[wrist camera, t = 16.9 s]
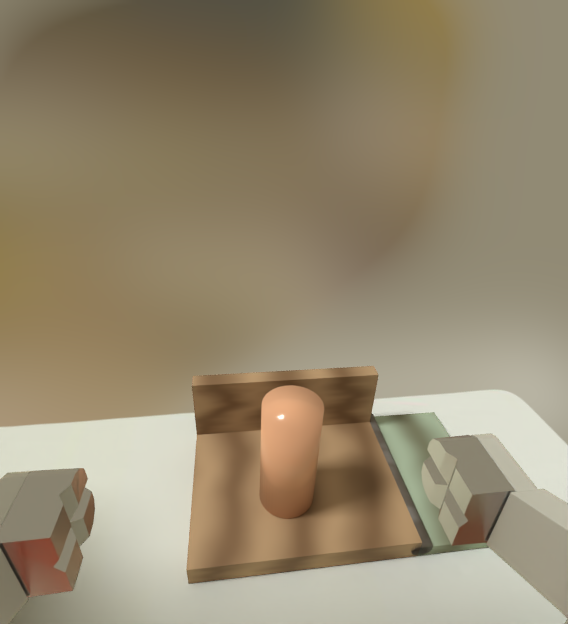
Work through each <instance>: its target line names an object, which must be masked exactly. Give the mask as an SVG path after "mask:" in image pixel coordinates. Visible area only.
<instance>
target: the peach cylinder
mask: <svg viewBox="0 0 568 624" xmlns="http://www.w3.org/2000/svg"><path fill="white" fill-rule="evenodd" d="M323 415H324V404H323V401H322V400H321V398H320V397H319V396H318V395H317V394H316V393H315V392H313V391H311V390H309V389H307V388H304V387H301V386H294V385H287V386H281V387H277V388H275V389H273V390H271V391H269V392H268V393H267V394H266V395H265V396H264V398H263V400H262V408H261V448H260V487H259V496H260V501H261V503H262V505H263V507H264V508H265V509H266V510H267V511H268V512H269V513H271V514H272V515H274V516H277V517H280V518H286V519H288V518H295V517H298V516H301V515H302V514H304V513H305V512H306V511H307V510H308V509H309V508H310V506H311V504H312V502H313V496H314V488H315V480H316V472H317V464H318V456H319V447H320V439H321V431H322V423H323Z"/></svg>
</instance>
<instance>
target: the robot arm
mask: <svg viewBox="0 0 568 624" xmlns="http://www.w3.org/2000/svg"><path fill="white" fill-rule="evenodd" d="M427 450H428V452H429V453H430V455H431V456H430V457H429V458H428V459H426V460H425V461H424V463H423V467H422V471H421V473H422V483H423V487H424V490H425V493H426V495H427V497H428V499H429V501H430V502H431V503H432V504H434V505H435V506H436V507H438V508H439V509H440V512H439V517H438V519H439V521H440V523H441V525H442V527H443V529H444V531H445V533H446V535H447V537H448V539H449V541H450V543H451V545H452V546H453V545H464V544H476V543H487V544H486V545H487V546H488V547H489V548H490V549H492V550H493V551H494V552H495V553H496V554H497V555H498V556H499V557H500V558H502V559H503V560H504V561H505V562H506V563H507V564H508V565H509V566H510V567H512V568H513V569H514V570H515V571H516V572H517V573H518V574H519V575H520V576H521V577H523V578H524V579H525V580H526V581H527V582H528V583H529V584H530V585H531V586H533V587H534V588H535V589H536V590H537V591H538V592H539V593H540V594H541V595H543V596H544V597H545V598H546V599H547V600H548V601H549V602H550V603H551V604H552V605H554V606H555V607H556V608H557V609H558V610H559V611H560V612H561V613H562V614H564V615H565V616H566V617H567V618H568V503H566V502H565V501H563V500H561V499H560V498H558V497H556V496H555V495H553V494H552V493H550V492H548V491H547V490H545V489H537V487H536V486H535V485H534V484H533V482H532V481H531V480H530V479H529V477H528V476H527V475H526V473H525V472H524V471H523V470H522V468H521V467H520V466H519V465H518V463H517V462H516V461H515V460H514V458H513V457H512V456H511V454H510V453H509V452H508V451H507V449H506V448H505V447H504V446H503V444H502V443H501V442H500V441H499V439H498V438H497V437H496V436H494V435H493V434H480V435H471V436H470V435H465V436H454V437H444V438H434V439H432V440H431V441H430V442H429V446H428V449H427ZM87 479H88V478H87V475H86V473H85V470H84V469H83V468H76V469H58V470H41V471H27V472H12V473H7V474H6V475H5V476H3V477H2V478H1V479H0V624H9V623H10V622H11V620H12V619H13V618H14V617H15V616H16V614H17V613H18V612H19V611H20V610H21V608H22V607H23V606H24V605H25V604H26V602H27V601H28V598H27V597H34V596H40V595H47V594H54V593H61V592H67V591H73V589H74V585H75V582H76V579H77V576H78V572H79V569H80V566H81V563H82V559H83V556H82V553H81V550H80V546H81V545H82V544H83V543H84V542H85V541H86V539H87V538H88V537H89V536H90V533H91V529H92V525H93V520H94V511H95V506H94V498H93V494H92V492H91V491H90V490H88V489H87V488H85V485H86V482H87ZM564 624H568V619H567V621H566V622H565V623H564Z"/></svg>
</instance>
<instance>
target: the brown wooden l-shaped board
mask: <svg viewBox="0 0 568 624" xmlns="http://www.w3.org/2000/svg"><path fill="white" fill-rule="evenodd" d="M377 380H378V373H377V371H376V369H375V368H374V366H367V367H349V368H333V369H332V368H330V369H312V370H295V371H277V372H259V373H240V374H222V375H204V376H193V381H192V391H193V401H194V410H195V420H196V430H197V442H196V455H195V468H194V481H193V494H192V507H191V519H190V532H189V545H188V558H187V576H188V582H189V583H198V582H206V581H214V580H222V579H230V578H239V577H247V576H255V575H263V574H271V573H280V572H288V571H296V570H304V569H313V568H321V567H329V566H337V565H345V564H354V563H362V562H370V561H378V560H386V559H395V558H403V557H411V556H419V555H427V554H436V553H444V552H452V551H460V550H469V549H477V548H485V547H488V546H487V545H486V544H487V543H476V544H464V545H453V546H452V545H451V543H450V541H449V539H448V537H447V535H446V533H445V531H444V529H443V527H442V525H441V523H440V521H439V519H438V517H439V512H440V509H439V508H438V507H436V506H435V505H434V504H432V503H431V502H430V501H429V499H428V497H427V495H426V493H425V490H424V487H423V483H422V473H421V471H422V467H423V463H424V461H425V460H426V459H428V458H429V457H430V456H431V455H430V453H429V452H428V450H427V449H428V446H429V442H430V441H431V440H432V439H434V438H444V437H450V436H449V435H448V433H447V432H446V430H445V429H444V427H443V426H442V424H441V423H440V421H439V419H438V418H437V416H436V415H435V413H434V412H432V413H418V414H405V415H391V416H377V417H374V415H373V414H372V413H371V412H372V407H373V402H374V396H375V391H376V385H377ZM287 385H294V386H301V387H304V388H307V389H309V390H311V391H313V392H315V393H316V394H317V395H318V396H319V397H320V398H321V400H322V401H323V404H324V415H323V423H322V431H321V439H320V447H319V456H318V464H317V472H316V480H315V488H314V496H313V502H312V504H311V506H310V508H309V509H308V510H307V511H306V512H305V513H304V514H302V515H301V516H298V517H295V518H288V519H286V518H280V517H277V516H274V515H272V514H271V513H269V512H268V511H267V510H266V509H265V508H264V507H263V505H262V503H261V501H260V496H259V487H260V448H261V408H262V400H263V398H264V396H265V395H266V394H267V393H268V392H269V391H271V390H273V389H275V388H277V387H281V386H287Z"/></svg>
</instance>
